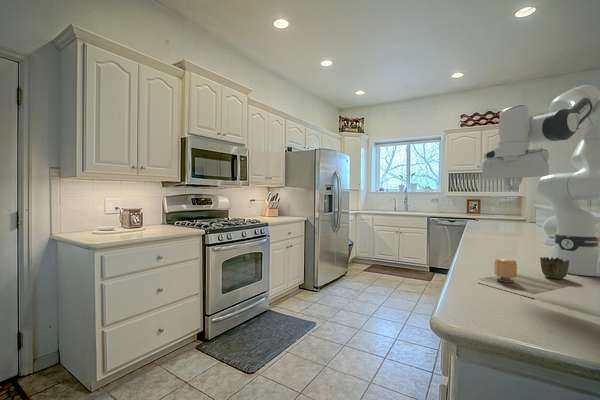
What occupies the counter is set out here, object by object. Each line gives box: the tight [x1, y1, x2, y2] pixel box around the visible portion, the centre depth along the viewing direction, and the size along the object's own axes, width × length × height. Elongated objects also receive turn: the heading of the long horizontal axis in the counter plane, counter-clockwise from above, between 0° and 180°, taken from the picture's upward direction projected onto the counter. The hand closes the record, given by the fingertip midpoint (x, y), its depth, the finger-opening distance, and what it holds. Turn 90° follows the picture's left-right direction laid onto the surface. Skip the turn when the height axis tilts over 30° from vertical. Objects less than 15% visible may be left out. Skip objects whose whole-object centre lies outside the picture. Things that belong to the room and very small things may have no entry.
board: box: [477, 273, 571, 300], centre depth 91 cm, size 20×16×2 cm
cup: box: [539, 256, 570, 280], centre depth 97 cm, size 8×7×8 cm
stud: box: [497, 277, 514, 283], centre depth 92 cm, size 4×4×6 cm
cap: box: [493, 257, 518, 278], centre depth 92 cm, size 5×5×5 cm
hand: (512, 190), depth 102 cm, fingers closed
